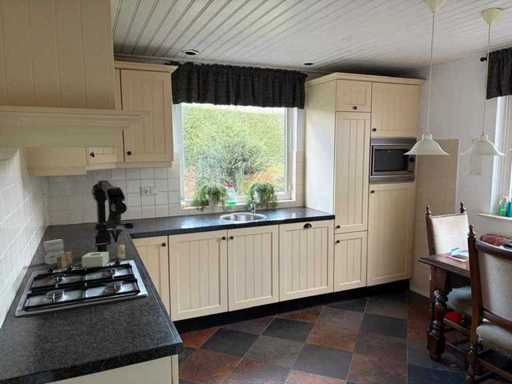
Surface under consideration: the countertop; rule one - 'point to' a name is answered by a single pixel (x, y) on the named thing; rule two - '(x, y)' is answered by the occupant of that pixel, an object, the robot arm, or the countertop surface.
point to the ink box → (53, 250)
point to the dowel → (121, 251)
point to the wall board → (64, 260)
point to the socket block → (95, 259)
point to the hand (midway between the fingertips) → (116, 242)
